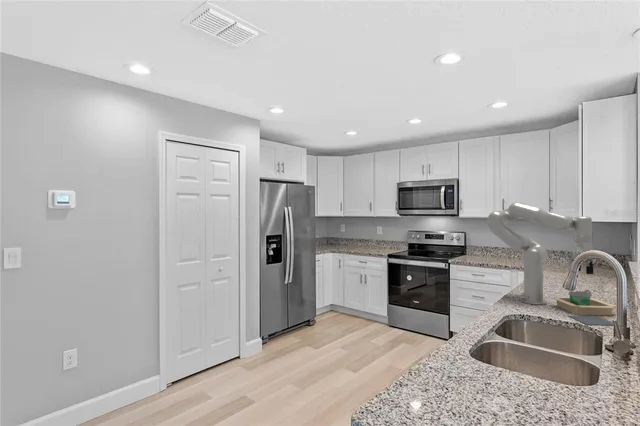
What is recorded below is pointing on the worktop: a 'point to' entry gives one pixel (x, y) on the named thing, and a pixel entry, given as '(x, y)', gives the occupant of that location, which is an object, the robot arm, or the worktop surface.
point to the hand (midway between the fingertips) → (583, 272)
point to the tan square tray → (585, 307)
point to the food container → (580, 298)
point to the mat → (592, 320)
